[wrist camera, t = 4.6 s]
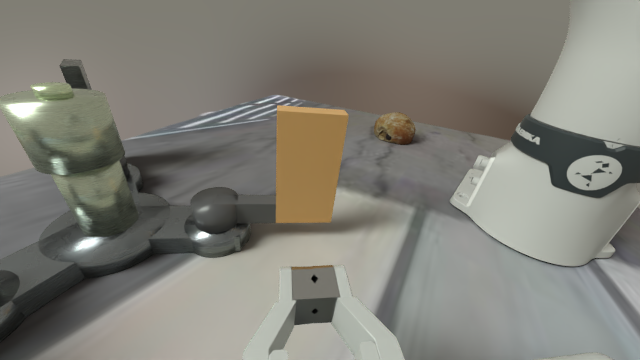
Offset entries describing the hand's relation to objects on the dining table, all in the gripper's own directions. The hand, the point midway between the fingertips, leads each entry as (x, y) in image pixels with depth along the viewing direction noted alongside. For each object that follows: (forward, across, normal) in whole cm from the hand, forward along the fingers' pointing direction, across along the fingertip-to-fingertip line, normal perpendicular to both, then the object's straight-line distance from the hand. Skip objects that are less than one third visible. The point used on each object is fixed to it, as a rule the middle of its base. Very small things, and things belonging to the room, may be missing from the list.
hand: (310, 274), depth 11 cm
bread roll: (+47, -27, +10) cm, 55 cm away
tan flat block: (+13, +3, +8) cm, 16 cm away
